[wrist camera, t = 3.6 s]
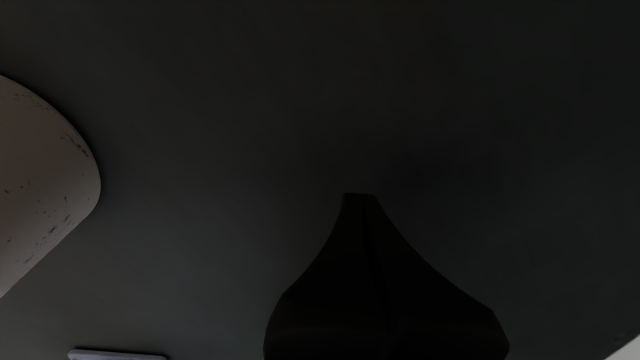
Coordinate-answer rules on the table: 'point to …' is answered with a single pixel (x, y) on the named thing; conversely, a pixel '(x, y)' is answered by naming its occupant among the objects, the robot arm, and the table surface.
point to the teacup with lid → (39, 180)
